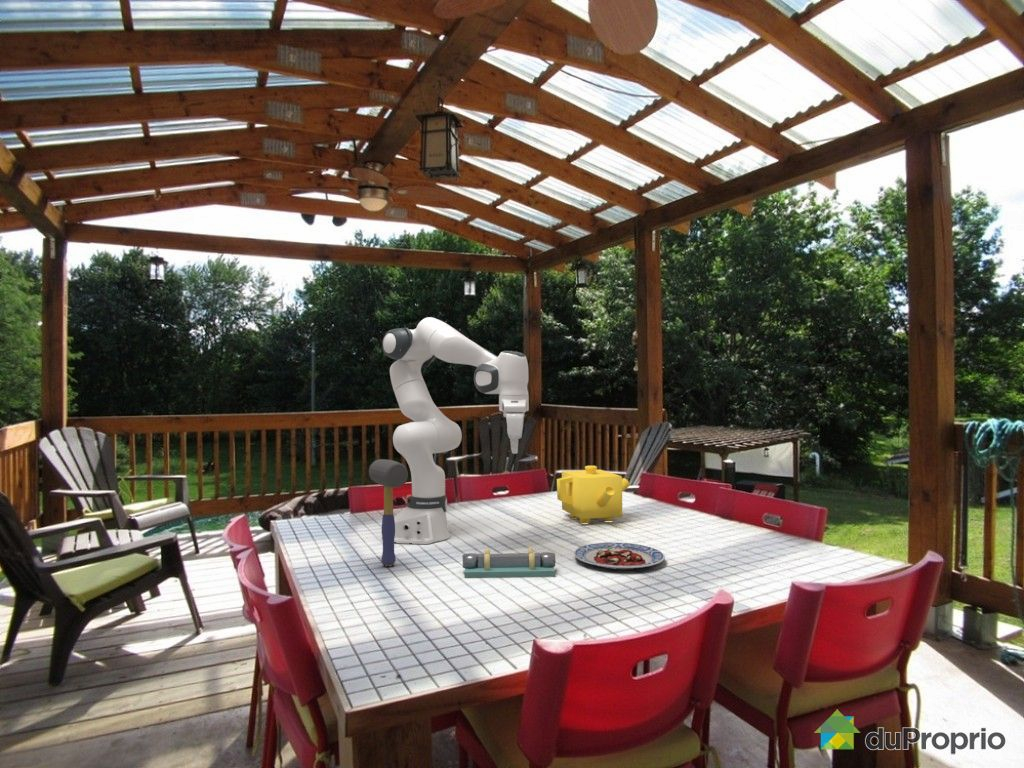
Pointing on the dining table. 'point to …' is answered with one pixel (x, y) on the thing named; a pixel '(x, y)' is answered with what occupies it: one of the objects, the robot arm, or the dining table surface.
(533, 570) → the peg rack
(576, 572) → the dining table surface
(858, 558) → the dining table surface
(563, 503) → the yellow teapot
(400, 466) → the rubber mallet
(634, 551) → the ceramic plate
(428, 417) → the robot arm
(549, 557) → the grey dumbbell
